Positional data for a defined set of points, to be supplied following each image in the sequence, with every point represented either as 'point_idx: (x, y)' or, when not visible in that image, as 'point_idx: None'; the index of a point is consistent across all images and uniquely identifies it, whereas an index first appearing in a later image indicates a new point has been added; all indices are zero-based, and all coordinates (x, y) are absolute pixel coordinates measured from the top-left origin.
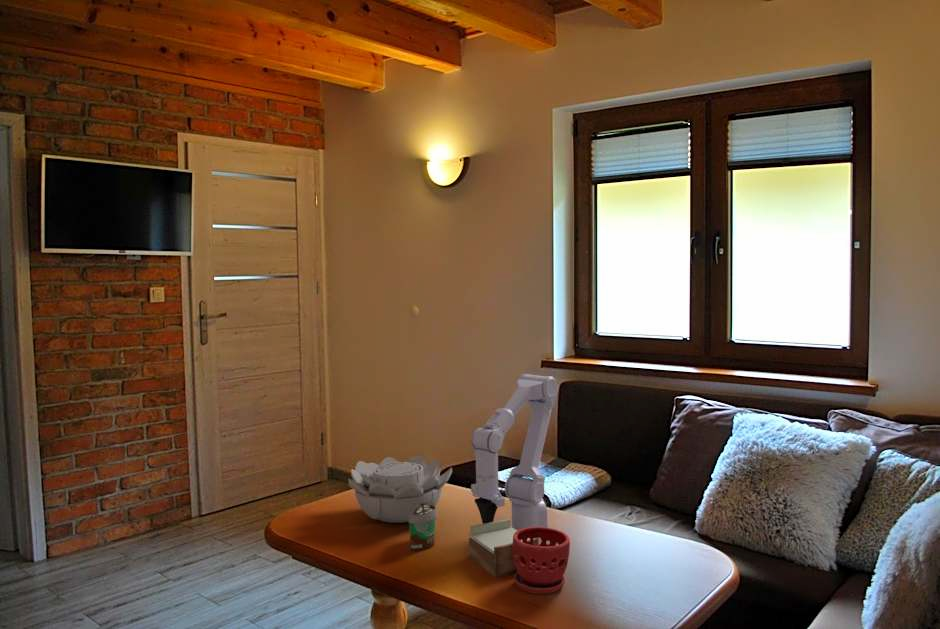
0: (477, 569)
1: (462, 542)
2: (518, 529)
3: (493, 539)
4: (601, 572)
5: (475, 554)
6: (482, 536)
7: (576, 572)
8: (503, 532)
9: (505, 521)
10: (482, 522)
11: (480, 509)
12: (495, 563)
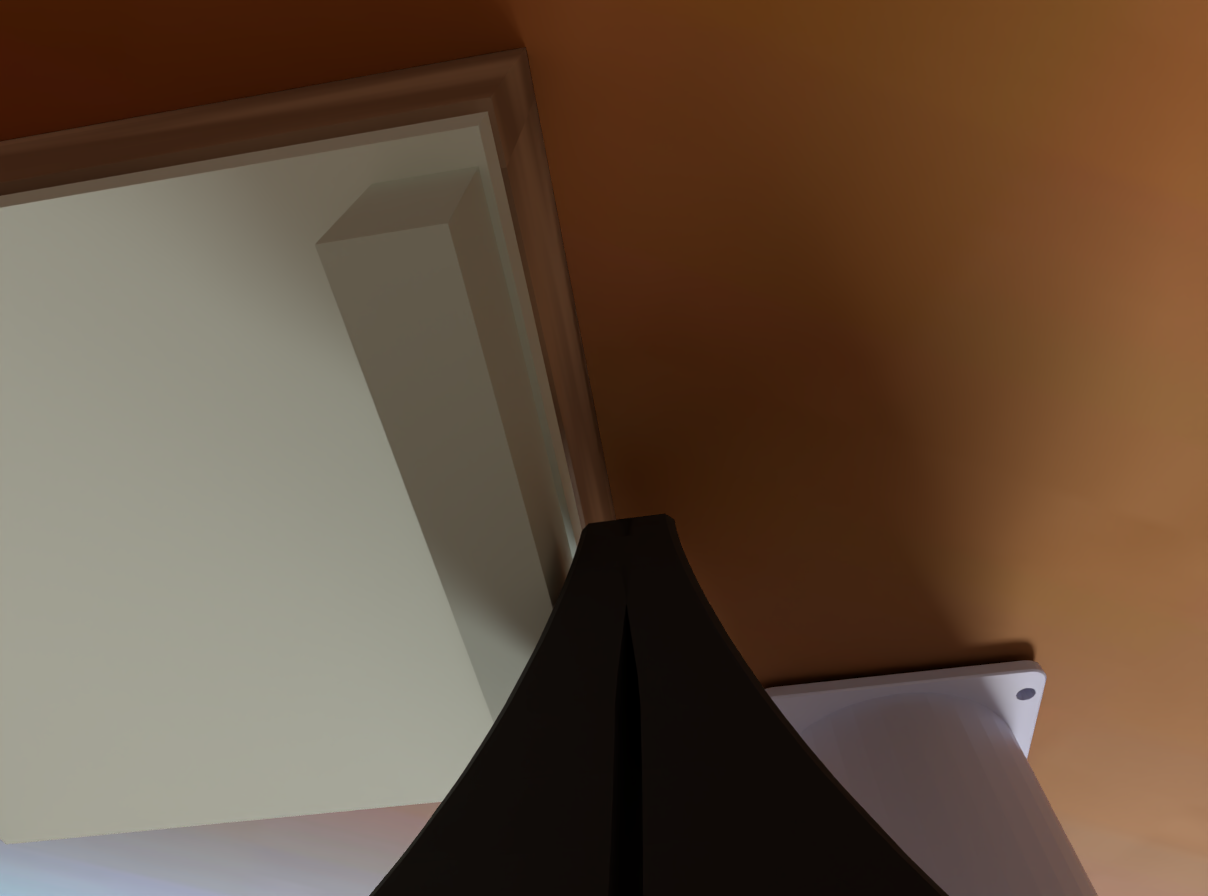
0: (63, 19)
1: (1090, 138)
2: (851, 764)
3: (86, 475)
4: (23, 880)
5: (289, 103)
6: (260, 349)
7: None
8: (395, 672)
9: None
10: (664, 549)
11: (666, 811)
12: None
